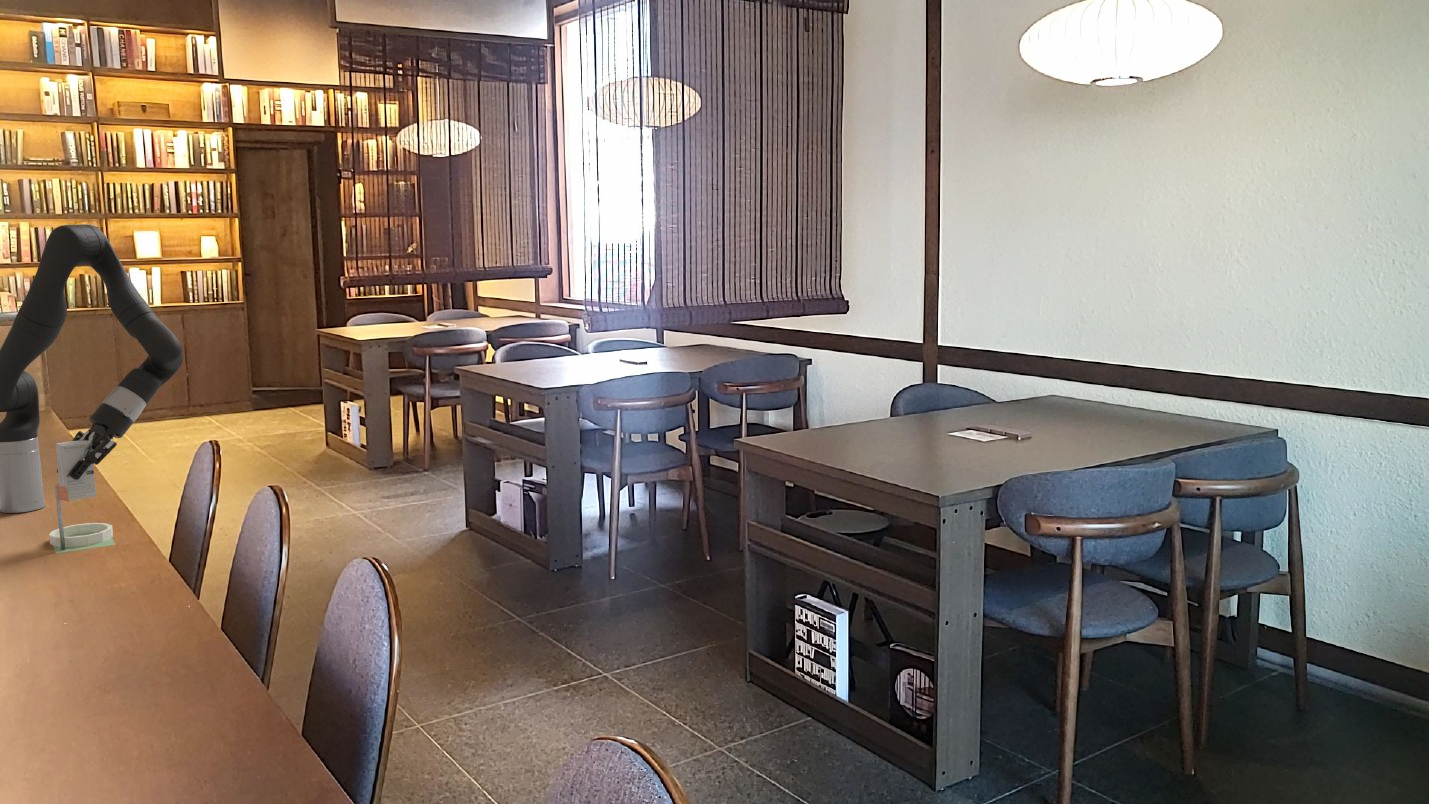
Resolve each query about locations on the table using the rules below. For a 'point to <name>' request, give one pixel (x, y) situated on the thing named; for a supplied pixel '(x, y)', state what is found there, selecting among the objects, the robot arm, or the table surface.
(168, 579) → the table surface
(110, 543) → the felt mat
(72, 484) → the skincare box
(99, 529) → the cup
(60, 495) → the pin flag
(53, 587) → the table surface
